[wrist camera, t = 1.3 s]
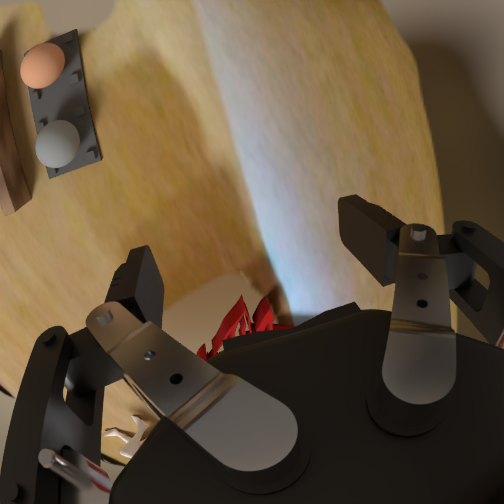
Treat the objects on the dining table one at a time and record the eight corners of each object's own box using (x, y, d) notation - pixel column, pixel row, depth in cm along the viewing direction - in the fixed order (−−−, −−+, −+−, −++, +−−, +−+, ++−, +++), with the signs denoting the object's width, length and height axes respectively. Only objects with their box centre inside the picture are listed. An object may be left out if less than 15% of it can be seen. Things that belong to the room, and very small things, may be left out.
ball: (31, 57, 21) (10, 53, 16) (69, 39, 21) (50, 31, 17) (37, 95, 23) (15, 96, 19) (74, 78, 24) (56, 75, 19)
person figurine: (94, 466, 41) (162, 502, 46) (132, 442, 41) (203, 481, 47) (101, 425, 53) (159, 462, 59) (135, 399, 54) (195, 440, 60)
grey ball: (43, 127, 25) (22, 133, 21) (80, 112, 26) (63, 114, 21) (53, 168, 28) (34, 179, 23) (90, 154, 28) (75, 163, 24)
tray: (25, 54, 20) (21, 53, 20) (77, 29, 21) (74, 27, 20) (50, 178, 28) (47, 180, 28) (101, 160, 29) (99, 161, 28)
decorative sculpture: (189, 437, 51) (120, 336, 37) (188, 424, 54) (123, 321, 39) (337, 399, 54) (343, 281, 39) (332, 388, 57) (333, 269, 42)
